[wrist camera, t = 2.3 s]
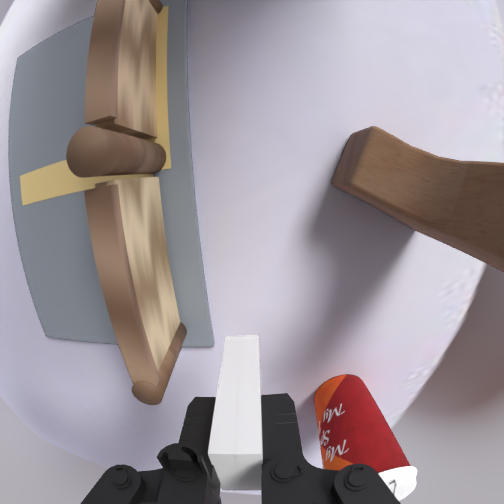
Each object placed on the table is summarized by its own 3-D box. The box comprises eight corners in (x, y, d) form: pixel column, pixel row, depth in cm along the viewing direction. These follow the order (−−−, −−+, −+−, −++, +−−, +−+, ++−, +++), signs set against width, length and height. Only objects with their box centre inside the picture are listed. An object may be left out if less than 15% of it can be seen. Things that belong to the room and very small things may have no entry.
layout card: (20, 58, 15) (17, 57, 15) (187, -10, 15) (186, -13, 14) (48, 334, 24) (45, 336, 24) (214, 343, 24) (213, 346, 23)
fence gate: (139, 179, 19) (78, 186, 11) (163, 175, 19) (111, 179, 11) (166, 339, 23) (137, 403, 15) (188, 339, 23) (165, 406, 15)
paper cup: (301, 375, 25) (326, 503, 11) (375, 358, 24) (434, 466, 11) (306, 422, 27) (324, 526, 13) (370, 406, 26) (408, 501, 13)
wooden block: (328, 183, 20) (556, 242, 3) (350, 132, 19) (567, 72, 1) (415, 231, 21) (590, 328, 3) (434, 185, 20) (618, 232, 2)
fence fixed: (139, 6, 15) (97, -47, 6) (165, -1, 15) (131, -61, 6) (138, 176, 19) (67, 181, 11) (167, 171, 19) (108, 172, 10)
